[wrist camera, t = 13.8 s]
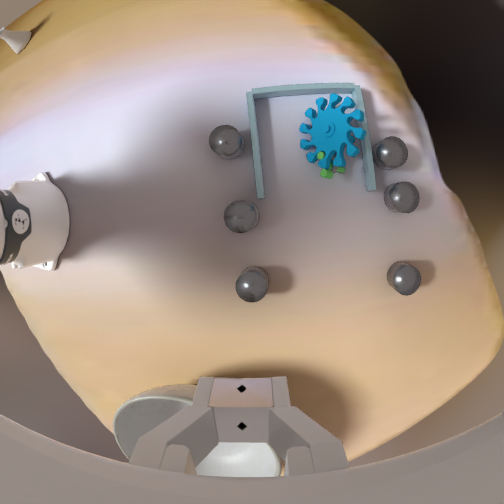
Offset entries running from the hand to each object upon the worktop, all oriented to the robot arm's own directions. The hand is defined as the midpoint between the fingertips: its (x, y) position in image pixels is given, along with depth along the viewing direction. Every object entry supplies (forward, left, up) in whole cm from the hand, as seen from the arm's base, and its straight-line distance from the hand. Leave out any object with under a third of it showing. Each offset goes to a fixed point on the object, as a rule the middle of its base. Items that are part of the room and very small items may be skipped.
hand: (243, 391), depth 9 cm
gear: (+8, +15, -31) cm, 35 cm away
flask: (-59, +61, -30) cm, 90 cm away
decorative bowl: (-14, -29, -30) cm, 44 cm away
